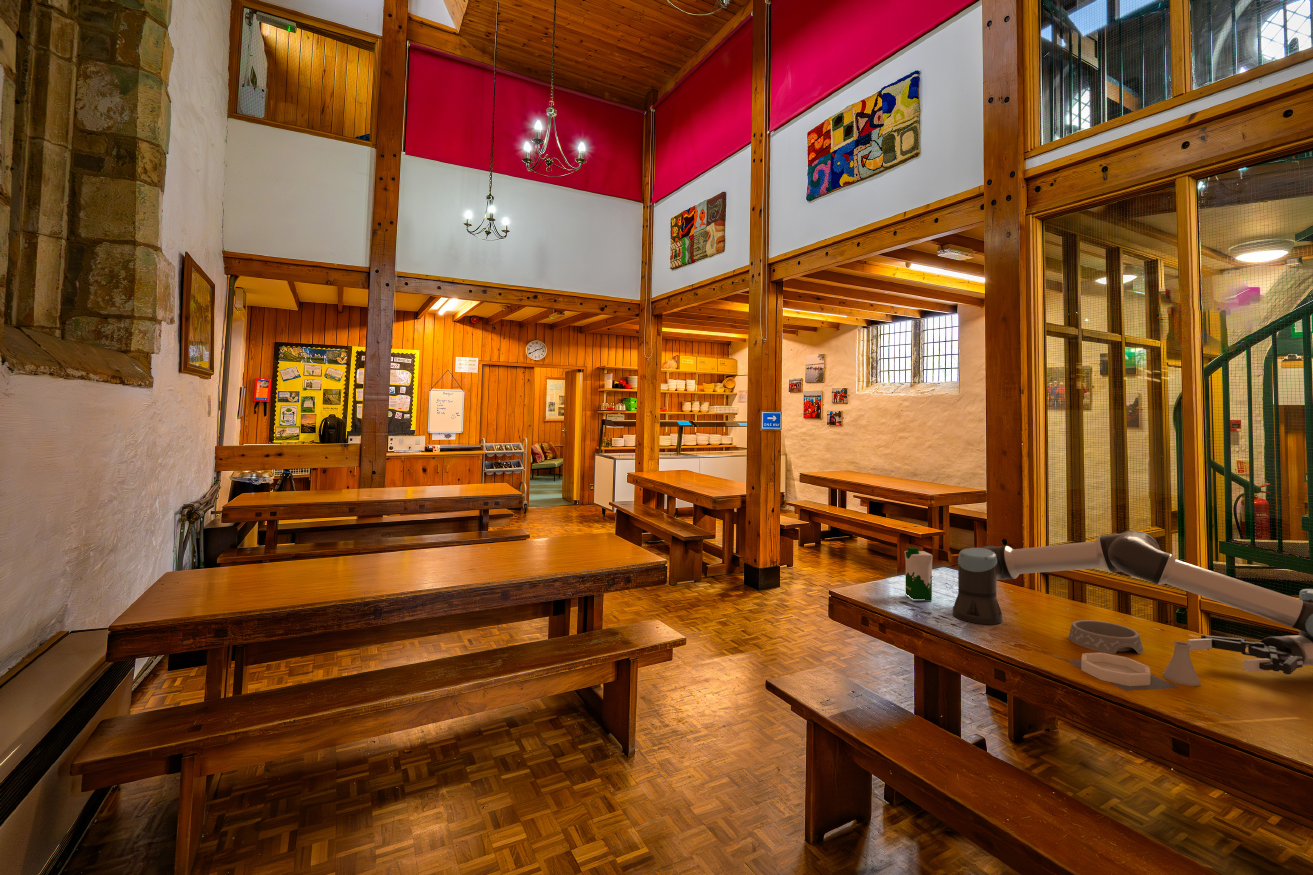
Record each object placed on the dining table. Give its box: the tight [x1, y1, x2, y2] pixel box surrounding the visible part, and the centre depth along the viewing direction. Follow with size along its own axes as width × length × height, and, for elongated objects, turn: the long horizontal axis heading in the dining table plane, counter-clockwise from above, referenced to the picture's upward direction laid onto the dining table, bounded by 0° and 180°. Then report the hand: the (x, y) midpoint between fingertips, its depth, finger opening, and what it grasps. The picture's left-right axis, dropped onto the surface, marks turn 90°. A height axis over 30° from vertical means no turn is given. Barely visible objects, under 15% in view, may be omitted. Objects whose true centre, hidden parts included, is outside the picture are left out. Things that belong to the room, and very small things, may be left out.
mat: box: [1066, 659, 1180, 692], centre depth 149 cm, size 18×15×1 cm
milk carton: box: [904, 546, 934, 601], centre depth 217 cm, size 9×9×20 cm
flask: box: [1162, 640, 1202, 687], centre depth 145 cm, size 7×7×10 cm
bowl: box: [1080, 652, 1151, 686], centre depth 149 cm, size 14×14×3 cm
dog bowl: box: [1067, 619, 1145, 655], centre depth 170 cm, size 17×18×5 cm
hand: (1215, 654), depth 146 cm, fingers open, 13 cm apart
